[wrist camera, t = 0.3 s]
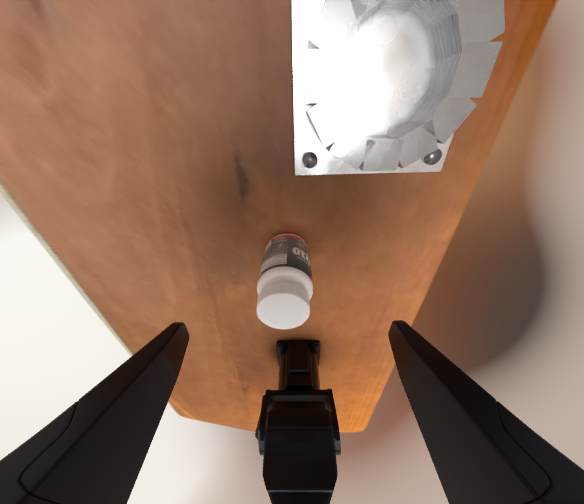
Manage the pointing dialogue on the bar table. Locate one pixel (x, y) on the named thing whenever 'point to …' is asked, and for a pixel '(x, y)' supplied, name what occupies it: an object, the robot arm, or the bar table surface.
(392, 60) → the socket
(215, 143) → the bar table surface
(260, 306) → the pill bottle
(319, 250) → the bar table surface
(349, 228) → the bar table surface
